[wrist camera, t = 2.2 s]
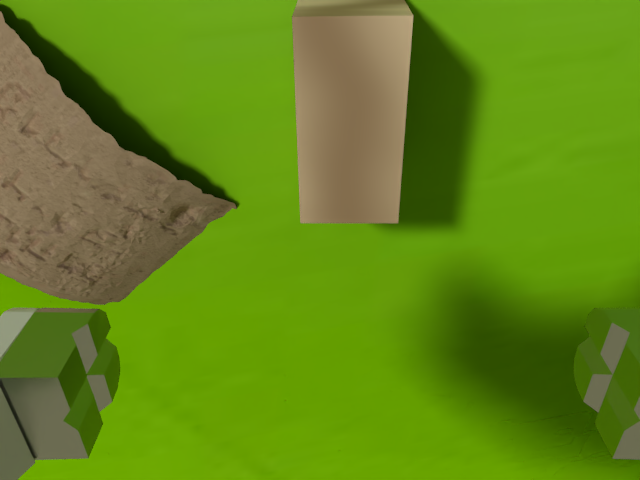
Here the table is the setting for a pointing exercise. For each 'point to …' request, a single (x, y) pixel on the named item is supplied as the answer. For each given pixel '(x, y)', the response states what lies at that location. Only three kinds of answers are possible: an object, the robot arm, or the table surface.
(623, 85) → the table surface
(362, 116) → the block
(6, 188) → the clay tablet
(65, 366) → the robot arm
